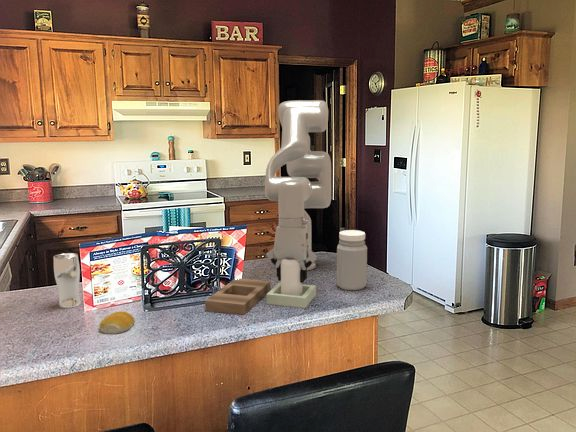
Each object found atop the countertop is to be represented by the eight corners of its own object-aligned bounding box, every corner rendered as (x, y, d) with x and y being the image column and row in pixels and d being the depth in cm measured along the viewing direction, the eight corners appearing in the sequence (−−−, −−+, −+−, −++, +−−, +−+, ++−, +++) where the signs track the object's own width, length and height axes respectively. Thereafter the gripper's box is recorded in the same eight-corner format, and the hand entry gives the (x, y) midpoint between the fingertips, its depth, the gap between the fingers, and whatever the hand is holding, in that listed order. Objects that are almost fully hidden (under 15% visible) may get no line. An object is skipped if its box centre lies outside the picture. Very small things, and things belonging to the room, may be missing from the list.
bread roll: (138, 321, 140) (137, 307, 140) (125, 335, 132) (124, 320, 131) (109, 320, 141) (108, 307, 140) (94, 334, 132) (93, 319, 132)
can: (293, 300, 152) (293, 260, 149) (276, 295, 156) (276, 257, 153) (306, 294, 157) (306, 256, 155) (289, 290, 161) (289, 252, 158)
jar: (363, 292, 162) (364, 236, 158) (333, 289, 165) (333, 234, 161) (368, 283, 171) (370, 230, 167) (339, 280, 174) (340, 228, 170)
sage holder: (279, 291, 164) (279, 282, 163) (316, 294, 160) (316, 285, 160) (266, 303, 152) (266, 294, 152) (305, 308, 149) (305, 298, 148)
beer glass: (60, 301, 156) (55, 253, 153) (84, 299, 157) (80, 252, 155) (54, 309, 149) (50, 259, 147) (80, 307, 151) (76, 258, 148)
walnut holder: (235, 287, 168) (235, 278, 168) (270, 290, 165) (270, 281, 164) (205, 310, 148) (204, 300, 147) (244, 314, 144) (243, 304, 143)
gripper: (322, 221, 153) (322, 279, 156) (268, 218, 158) (268, 274, 161) (316, 226, 146) (316, 287, 149) (259, 223, 151) (260, 281, 154)
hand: (291, 280), depth 155 cm, fingers closed on can, 6 cm apart
